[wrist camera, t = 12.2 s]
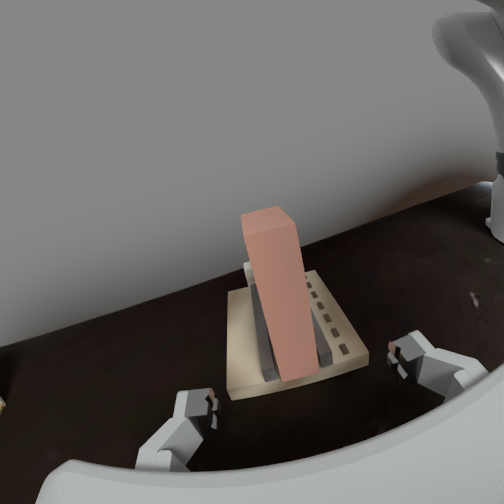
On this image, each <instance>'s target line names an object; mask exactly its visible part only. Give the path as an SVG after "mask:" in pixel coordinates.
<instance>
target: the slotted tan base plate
mask: <svg viewBox="0 0 504 504" xmlns="http://www.w3.org/2000/svg"><path fill="white" fill-rule="evenodd" d="M244 272H245V275H246V279H247V282H248V286H249V287H246V288H242V289H237V290H233V291H229V292H228V324H227V391H228V393H229V395H230V397H231V400H238V399H243V398H249V397H254V396H259V395H264V394H269V393H273V392H278V391H282V390H286V389H290V388H294V387H298V386H302V385H306V384H310V383H313V382H317V381H320V380H324V379H327V378H330V377H334V376H337V375H340V374H343V373H346V372H349V371H352V370H355V369H358V368H361V367H363V366H366V365H369V352H368V350H367V348H366V347H365V345H364V344H363V342H362V341H361V339H360V337H359V336H358V334H357V333H356V331H355V330H354V328H353V327H352V325H351V323H350V322H349V320H348V319H347V317H346V316H345V314H344V313H343V311H342V310H341V308H340V307H339V305H338V304H337V302H336V301H335V299H334V298H333V296H332V295H331V293H330V292H329V290H328V289H327V287H326V286H325V284H324V283H323V281H322V280H321V279H320V277H319V276H318V274H317V273H316V271H315V270H313V271H309V272H305V278H306V284H307V290H308V296H309V302H310V308H311V315H312V322H313V328H314V335H315V342H316V350H317V357H318V365H319V373H316V374H313V375H309V376H306V377H302V378H298V379H294V380H290V381H286V382H282V380H281V377H280V373H279V369H278V365H277V362H276V358H275V354H274V350H273V346H272V343H271V339H270V335H269V331H268V328H267V324H266V320H265V316H264V312H263V309H262V305H261V301H260V297H259V293H258V290H257V286H256V282H255V278H254V274H253V271H252V267H251V263H250V261H249V262H246V263H244Z"/></svg>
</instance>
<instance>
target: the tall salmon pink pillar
mask: <svg viewBox="0 0 504 504" xmlns="http://www.w3.org/2000/svg"><path fill="white" fill-rule="evenodd" d="M241 221H242V228H243V236H244V240H245V244H246V248H247V251H248V255H249V259H250V263H251V267H252V271H253V274H254V278H255V282H256V286H257V290H258V293H259V297H260V301H261V305H262V309H263V312H264V316H265V320H266V324H267V328H268V331H269V335H270V339H271V343H272V346H273V350H274V354H275V358H276V362H277V365H278V369H279V373H280V377H281V380H282V382H286V381H290V380H294V379H298V378H302V377H306V376H309V375H313V374H316V373H319V365H318V357H317V350H316V342H315V335H314V328H313V322H312V315H311V308H310V302H309V296H308V290H307V284H306V278H305V272H304V267H303V261H302V256H301V250H300V245H299V240H298V234H297V229H296V224H295V223H294V222H293V220H292V219H291V218H290V217H289V216H288V215H287V214H286V213H285V212H284V211H283V210H282V209H281V208H280V206H274V207H270V208H266V209H262V210H258V211H254V212H250V213H246V214H242V215H241Z"/></svg>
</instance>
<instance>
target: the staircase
mask: <svg viewBox="0 0 504 504" xmlns="http://www.w3.org/2000/svg"><path fill="white" fill-rule="evenodd" d="M5 404H6V403H5V402H4V401H3V399H2V398H1V397H0V415H1V413H2V410H3V407H5Z"/></svg>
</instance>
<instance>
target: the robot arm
mask: <svg viewBox="0 0 504 504" xmlns="http://www.w3.org/2000/svg"><path fill="white" fill-rule="evenodd" d="M476 1H479V2H481V3H483V4H486V5H488V6H489V7H491V11H490V12H461V13H452V14H449V15H445V16H442V17H439V18H436V19H435V21H434V23H433V26H432V37H433V41H434V44H435V47H436V49H437V51H438V52H439V54H440V55H441V56H442V58H443V59H444V60H445V61H446V62H447V63H448V64H449V65H451V66H452V67H453V68H455V69H457V70H459V71H460V72H462V73H463V74H464V75H466V76H467V77H468V78H469V79H470V80H471V81H472V82H473V83H474V84H475V85H476V86H477V87H478V89H479V90H480V92H481V93H482V95H483V97H484V98H485V100H486V103H487V105H488V107H489V110H490V113H491V117H492V121H493V125H494V130H495V136H496V142H497V152H496V165H497V172H498V173H499V175H498V178H497V179H496V180H495V181H494V182H493V185H492V204H491V217H489V218H487V219H486V222H485V224H486V225H487V226H488V227H489V228H490V229H491V232H492V234H493V236H494V237H495V238H497V239H498V240H499V241H501V242H503V243H504V0H476ZM388 348H389V350H390V352H389V354H388V355H387V362H388V366H389V369H390V370H391V372H392V373H393V374H396V375H397V377H396V380H397V381H398V383H399V384H400V386H401V388H405V387H407V386H409V385H412V384H414V383H416V382H417V383H419V384H421V385H423V386H425V387H427V388H429V389H431V390H433V391H435V392H437V393H438V394H440V395H442V396H444V397H446V398H445V400H444V402H443V404H442V405H440V406H439V407H437V408H435V409H433V410H431V411H429V412H428V413H426V414H424V415H422V416H420V417H418V418H416V419H414V420H412V421H410V422H407V423H405V424H403V425H401V426H399V427H396V428H394V429H392V430H389V431H387V432H385V433H382V434H380V435H377V436H375V437H372V438H369V439H367V440H364V441H361V442H358V443H356V444H353V445H350V446H347V447H343V448H340V449H337V450H334V451H330V452H327V453H323V454H319V455H316V456H312V457H308V458H303V459H299V460H294V461H290V462H285V463H279V464H274V465H268V466H261V467H254V468H246V469H237V470H226V471H210V472H191V471H190V470H189V469H188V468H187V467H186V466H185V465H186V464H187V463H188V461H189V460H190V458H191V457H192V455H193V454H194V452H195V451H196V450H197V448H198V447H199V445H200V444H201V442H202V441H203V439H205V438H214V437H221V424H220V422H219V420H220V419H221V407H220V404H219V402H218V400H217V399H216V398H214V392H213V390H212V388H207V389H197V390H189V391H179V392H178V394H177V398H176V404H175V409H174V414H173V418H170V419H169V420H168V421H167V422H166V423H165V424H164V425H163V426H162V427H161V428H160V429H159V430H158V431H157V432H156V433H155V434H154V435H153V436H152V437H151V438H150V439H149V440H148V441H147V442H146V443H145V444H144V445H143V446H142V447H141V448H140V449H139V453H138V457H137V462H136V466H135V470H134V469H125V468H118V467H111V466H105V465H99V464H94V463H89V462H84V461H80V460H74V459H72V460H69V461H67V462H65V463H64V464H62V465H61V466H59V467H58V468H56V469H55V470H54V471H52V472H51V473H50V474H49V475H48V476H47V478H46V480H45V481H44V483H43V486H42V488H41V490H40V493H39V495H38V498H37V500H36V503H35V504H504V363H503V364H501V365H500V366H499V367H498V368H496V369H495V370H494V371H492V372H491V373H489V372H488V371H487V370H486V369H485V368H484V367H483V366H482V365H481V364H480V362H479V361H478V360H477V359H474V358H470V357H467V356H463V355H460V354H456V353H453V352H450V351H446V350H443V349H440V348H437V349H435V348H434V347H433V346H432V345H431V344H430V343H429V341H428V340H427V339H426V338H425V337H424V336H423V335H422V334H421V333H420V332H419V331H418V330H416V331H414V332H411V333H409V334H407V335H404V336H402V337H399V338H397V339H395V340H392V341H390V342H389V345H388Z"/></svg>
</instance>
